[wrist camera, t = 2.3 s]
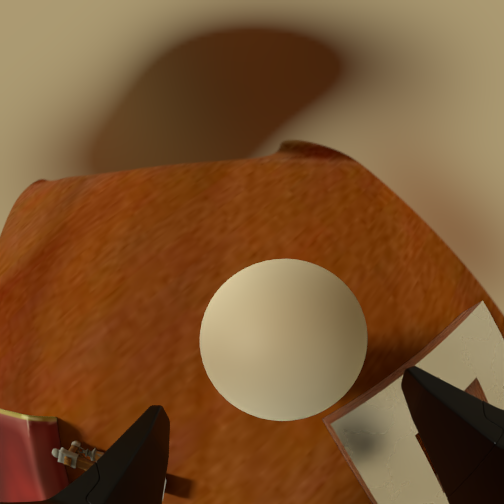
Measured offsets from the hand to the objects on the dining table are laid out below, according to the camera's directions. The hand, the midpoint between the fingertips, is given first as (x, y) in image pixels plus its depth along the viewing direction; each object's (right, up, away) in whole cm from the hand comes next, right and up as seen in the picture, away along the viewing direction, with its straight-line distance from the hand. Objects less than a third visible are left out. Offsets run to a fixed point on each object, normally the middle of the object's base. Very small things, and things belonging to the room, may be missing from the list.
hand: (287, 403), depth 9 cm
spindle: (0, -3, +9) cm, 9 cm away
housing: (+13, -8, +5) cm, 16 cm away
